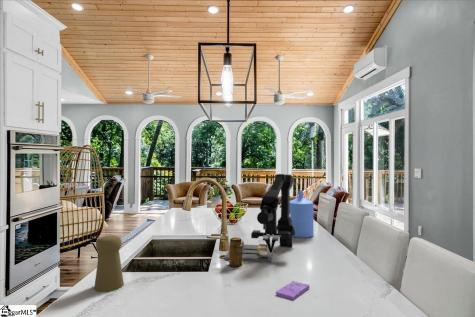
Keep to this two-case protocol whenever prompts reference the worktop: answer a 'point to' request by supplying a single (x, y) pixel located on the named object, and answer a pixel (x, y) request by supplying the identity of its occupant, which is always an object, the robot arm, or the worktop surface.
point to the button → (263, 253)
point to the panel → (253, 254)
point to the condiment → (235, 254)
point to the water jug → (302, 216)
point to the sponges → (292, 290)
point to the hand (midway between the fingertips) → (270, 252)
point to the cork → (108, 264)
